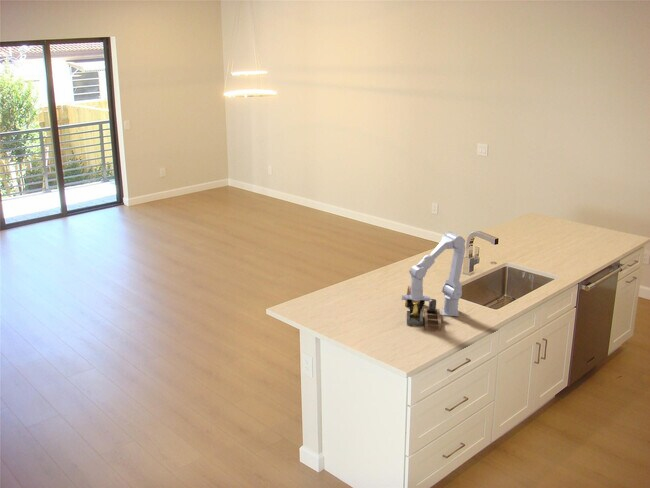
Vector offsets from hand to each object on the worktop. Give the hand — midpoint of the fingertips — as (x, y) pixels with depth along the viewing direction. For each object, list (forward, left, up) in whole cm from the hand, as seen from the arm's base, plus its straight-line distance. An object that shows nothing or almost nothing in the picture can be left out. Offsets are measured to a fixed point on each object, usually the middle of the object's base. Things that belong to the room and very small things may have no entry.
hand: (415, 313), depth 366 cm
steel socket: (0, 0, -4) cm, 4 cm away
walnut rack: (0, +9, -4) cm, 10 cm away
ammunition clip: (-20, 0, -4) cm, 20 cm away
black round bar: (-7, +9, -4) cm, 12 cm away
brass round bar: (0, 0, -3) cm, 3 cm away
